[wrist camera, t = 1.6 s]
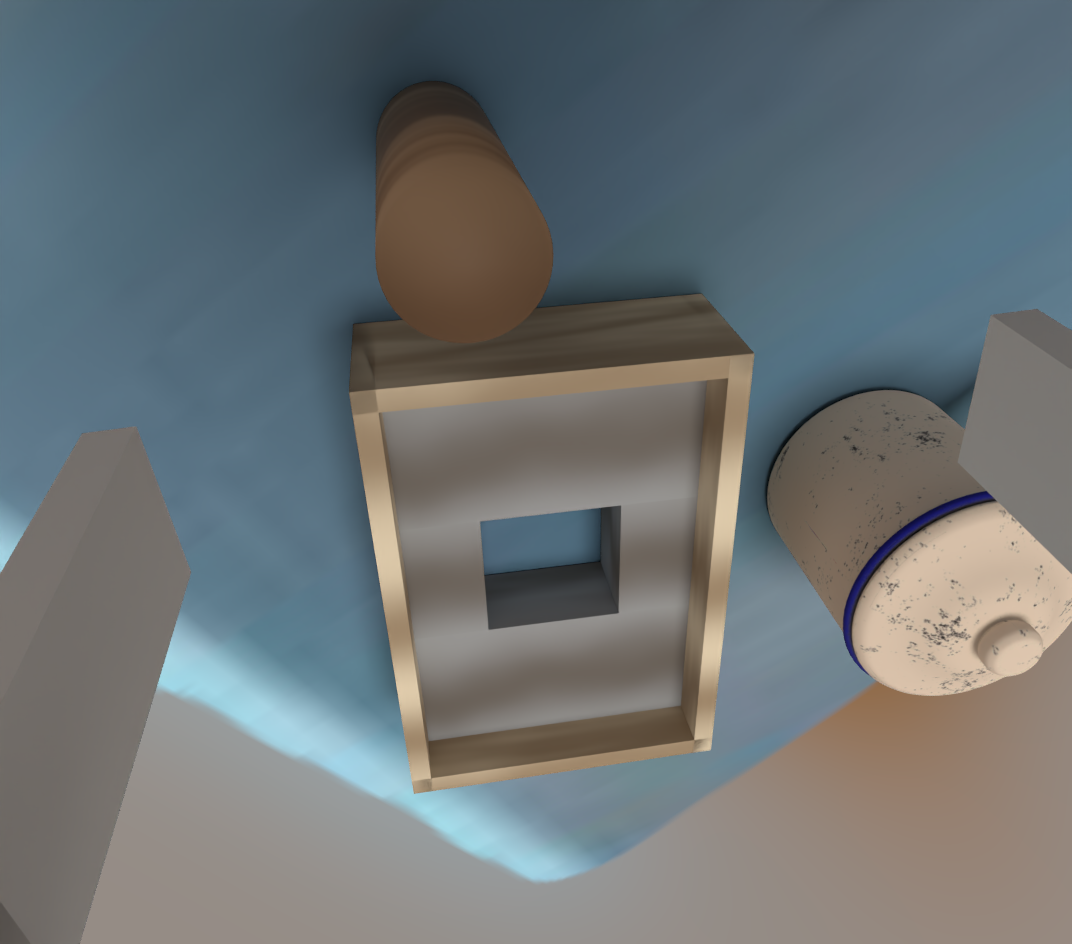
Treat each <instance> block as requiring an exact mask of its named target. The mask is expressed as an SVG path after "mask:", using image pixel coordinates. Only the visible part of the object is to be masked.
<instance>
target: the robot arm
mask: <svg viewBox="0 0 1072 944" xmlns="http://www.w3.org/2000/svg"><path fill="white" fill-rule="evenodd" d="M958 463H959V464H960V465H961V466H962V467H963V468H964V469H965V470H966V471H967V472H968V473H969V474H970V475H971V476H972V477H973V478H974V479H975V480H976V481H977V482H978V483H979V484H980V485H981V486H982V487H983V488H984V489H985V490H986V491H987V492H988V493H989V494H990V495H991V496H992V497H993V498H994V499H995V500H996V501H998V502H999V503H1000V504H1001V505H1002V506H1003V507H1004V508H1005V509H1006V510H1007V511H1008V512H1009V513H1010V514H1011V515H1012V516H1013V517H1014V518H1015V519H1016V520H1017V521H1018V522H1019V523H1020V524H1021V525H1022V526H1023V527H1024V528H1025V529H1026V530H1027V531H1028V532H1029V533H1030V534H1031V535H1032V536H1033V537H1034V538H1035V539H1036V540H1037V541H1038V542H1039V543H1040V544H1041V545H1042V546H1043V547H1044V548H1045V549H1047V550H1048V551H1049V552H1050V553H1051V554H1052V555H1053V556H1054V557H1055V558H1056V559H1057V560H1058V561H1059V562H1060V563H1061V564H1062V565H1063V566H1064V567H1065V568H1066V569H1067V570H1068V571H1069V572H1070V573H1071V574H1072V330H1070V329H1068V328H1067V327H1065V326H1063V325H1062V324H1060V323H1059V322H1057V321H1055V320H1054V319H1052V318H1051V317H1049V316H1047V315H1046V314H1044V313H1043V312H1041V311H1039V310H1038V309H1033V310H1025V311H1018V312H1010V313H1002V314H995V315H991V317H990V321H989V326H988V330H987V334H986V339H985V343H984V348H983V352H982V356H981V361H980V365H979V370H978V374H977V379H976V383H975V387H974V392H973V396H972V401H971V405H970V410H969V414H968V418H967V423H966V427H965V432H964V436H963V441H962V445H961V449H960V454H959V458H958ZM190 574H191V571H190V568H189V566H188V563H187V560H186V558H185V555H184V552H183V550H182V547H181V544H180V542H179V539H178V536H177V534H176V531H175V528H174V526H173V523H172V520H171V518H170V515H169V512H168V510H167V507H166V504H165V502H164V499H163V496H162V494H161V491H160V488H159V486H158V483H157V480H156V478H155V475H154V472H153V470H152V467H151V464H150V462H149V459H148V456H147V454H146V451H145V448H144V446H143V443H142V440H141V438H140V435H139V432H138V430H137V427H128V428H121V429H113V430H105V431H98V432H90V433H82V435H81V437H80V438H79V440H78V442H77V443H76V445H75V447H74V448H73V450H72V452H71V454H70V455H69V457H68V459H67V460H66V462H65V464H64V466H63V467H62V469H61V471H60V472H59V474H58V476H57V478H56V479H55V481H54V483H53V484H52V486H51V488H50V490H49V491H48V493H47V495H46V496H45V498H44V500H43V502H42V503H41V505H40V507H39V508H38V510H37V512H36V514H35V515H34V517H33V519H32V520H31V522H30V524H29V525H28V527H27V529H26V531H25V532H24V534H23V536H22V537H21V539H20V541H19V543H18V544H17V546H16V548H15V549H14V551H13V553H12V555H11V556H10V558H9V560H8V561H7V563H6V565H5V567H4V568H3V570H2V572H1V573H0V944H80V941H81V938H82V934H83V931H84V928H85V925H86V921H87V918H88V915H89V911H90V908H91V905H92V901H93V898H94V895H95V891H96V888H97V885H98V881H99V878H100V875H101V871H102V868H103V864H104V861H105V858H106V855H107V851H108V848H109V844H110V841H111V837H112V834H113V831H114V828H115V824H116V821H117V818H118V814H119V811H120V807H121V804H122V801H123V798H124V794H125V791H126V788H127V784H128V781H129V778H130V774H131V771H132V768H133V764H134V761H135V758H136V754H137V751H138V748H139V744H140V741H141V738H142V734H143V731H144V728H145V724H146V721H147V718H148V714H149V711H150V707H151V704H152V701H153V697H154V694H155V691H156V687H157V684H158V681H159V677H160V674H161V671H162V667H163V664H164V661H165V657H166V654H167V651H168V647H169V644H170V641H171V637H172V634H173V631H174V627H175V624H176V621H177V617H178V614H179V611H180V607H181V604H182V601H183V597H184V594H185V591H186V587H187V584H188V581H189V577H190Z"/></svg>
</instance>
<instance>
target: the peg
mask: <svg viewBox="0 0 1072 944" xmlns="http://www.w3.org/2000/svg"><path fill="white" fill-rule="evenodd" d="M375 257H376V270H377V275H378V280H379V282H380V285H381V288H382V291H383V293H384V295H385V297H386V299H387V301H388V302H389V304H390V305H391V306H392V308H393V309H394V311H395V312H396V313H397V314H398V315H399V316H400V317H401V318H402V319H403V320H404V321H405V322H406V323H407V324H409V325H410V326H411V327H413V328H414V329H416V330H417V331H419V332H421V333H423V334H425V335H427V336H429V337H432V338H435V339H438V340H441V341H446V342H452V343H475V342H482V341H486V340H490V339H493V338H496V337H498V336H500V335H503V334H505V333H507V332H508V331H510V330H512V329H514V328H515V327H516V326H518V325H519V324H520V323H522V322H523V321H524V320H525V319H526V318H527V317H528V316H529V315H530V314H531V313H532V312H533V310H534V309H535V308H536V307H537V305H538V304H539V302H540V300H541V299H542V297H543V295H544V293H545V291H546V289H547V287H548V283H549V280H550V277H551V272H552V266H553V246H552V239H551V235H550V231H549V228H548V226H547V223H546V220H545V218H544V217H543V215H542V213H541V211H540V209H539V207H538V206H537V204H536V202H535V200H534V199H533V197H532V195H531V193H530V192H529V190H528V188H527V186H526V185H525V183H524V181H523V179H522V178H521V176H520V174H519V172H518V171H517V169H516V167H515V165H514V164H513V162H512V160H511V158H510V157H509V155H508V153H507V151H506V150H505V148H504V146H503V144H502V143H501V141H500V139H499V137H498V136H497V134H496V132H495V130H494V129H493V127H492V125H491V123H490V122H489V120H488V118H487V116H486V115H485V113H484V111H483V109H482V108H481V107H480V105H479V104H478V103H477V102H476V100H475V99H474V98H473V97H472V96H470V95H469V94H468V93H467V92H465V91H464V90H462V89H461V88H459V87H456V86H454V85H452V84H448V83H445V82H439V81H427V82H420V83H417V84H413V85H411V86H409V87H407V88H405V89H403V90H402V91H400V92H399V93H398V94H397V95H395V96H394V97H393V98H392V99H391V101H390V102H389V103H388V104H387V106H386V107H385V109H384V111H383V113H382V115H381V117H380V120H379V123H378V127H377V134H376V250H375Z"/></svg>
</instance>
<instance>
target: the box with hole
mask: <svg viewBox="0 0 1072 944" xmlns="http://www.w3.org/2000/svg"><path fill="white" fill-rule="evenodd" d="M753 362H754V352H753V351H752V350H751V349H750V348H749V347H748V346H747V345H746V343H745V342H744V341H743V340H742V339H741V338H740V337H739V335H738V334H737V333H736V332H735V331H734V330H733V329H732V327H731V326H730V325H729V324H728V323H727V322H726V321H725V319H724V318H723V317H722V316H721V315H720V314H719V313H718V311H717V310H716V309H715V308H714V307H713V306H712V305H711V304H710V302H709V301H708V300H707V299H706V298H705V297H704V296H703V294H693V295H681V296H670V297H659V298H647V299H636V300H624V301H613V302H601V303H590V304H578V305H567V306H555V307H544V308H535V309H534V310H533V312H532V313H531V314H530V315H529V316H528V317H527V318H526V319H525V320H524V321H523V322H522V323H520V324H519V325H518V326H516V327H515V328H514V329H512V330H510V331H508V332H507V333H505V334H503V335H500V336H498V337H496V338H493V339H490V340H486V341H482V342H475V343H452V342H446V341H441V340H438V339H435V338H432V337H429V336H427V335H425V334H423V333H421V332H419V331H417V330H416V329H414V328H413V327H411V326H410V325H409V324H407V323H406V322H405V321H404V320H395V321H383V322H372V323H360V324H353V335H352V351H351V368H350V384H349V396H350V402H351V408H352V414H353V420H354V426H355V433H356V439H357V445H358V451H359V457H360V463H361V470H362V476H363V482H364V488H365V494H366V500H367V507H368V513H369V519H370V525H371V531H372V537H373V544H374V550H375V556H376V562H377V568H378V574H379V581H380V587H381V593H382V599H383V605H384V611H385V618H386V624H387V630H388V636H389V642H390V649H391V655H392V661H393V667H394V673H395V679H396V686H397V692H398V698H399V704H400V710H401V716H402V723H403V729H404V735H405V741H406V747H407V753H408V760H409V766H410V772H411V778H412V784H413V790H414V794H415V793H422V792H429V791H435V790H442V789H449V788H456V787H462V786H469V785H476V784H483V783H490V782H496V781H503V780H510V779H517V778H524V777H530V776H537V775H544V774H551V773H558V772H564V771H571V770H578V769H585V768H592V767H598V766H605V765H612V764H619V763H626V762H632V761H639V760H646V759H653V758H660V757H666V756H673V755H680V754H687V753H693V752H700V751H707V750H711V743H712V734H713V725H714V715H715V706H716V697H717V688H718V679H719V670H720V661H721V652H722V643H723V634H724V625H725V616H726V607H727V598H728V588H729V579H730V570H731V561H732V552H733V543H734V534H735V525H736V516H737V507H738V498H739V489H740V480H741V471H742V462H743V452H744V443H745V434H746V425H747V416H748V407H749V398H750V389H751V380H752V371H753ZM593 508H601V562H594V563H586V564H577V565H569V566H561V567H553V568H544V569H536V570H528V571H519V572H511V573H503V574H495V575H486V576H484V566H483V554H482V541H481V529H480V521H488V520H497V519H506V518H514V517H523V516H532V515H541V514H549V513H558V512H567V511H576V510H585V509H593Z"/></svg>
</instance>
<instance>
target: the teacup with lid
mask: <svg viewBox="0 0 1072 944" xmlns="http://www.w3.org/2000/svg"><path fill="white" fill-rule="evenodd" d="M964 432H965V429H963V428H962V427H961V426H960V425H959V424H958V423H956V422H955V421H954V420H953V419H952V418H951V417H950V416H948V415H947V414H946V413H945V412H944V411H943V410H941V409H940V408H939V407H938V406H937V405H935V404H934V403H932V402H931V401H929V400H927V399H925V398H923V397H921V396H919V395H916V394H913V393H909V392H904V391H896V390H879V391H871V392H866V393H861V394H857V395H854V396H851V397H848V398H846V399H843V400H841V401H839V402H837V403H835V404H833V405H831V406H829V407H827V408H826V409H824V410H822V411H821V412H819V413H818V414H816V415H815V416H814V417H812V418H811V419H810V420H809V421H807V422H806V423H805V424H804V425H803V426H802V427H801V428H800V429H799V430H798V431H797V432H796V433H795V434H794V435H793V436H792V437H791V439H790V440H789V441H788V443H787V444H786V445H785V447H784V448H783V450H782V451H781V453H780V455H779V456H778V458H777V460H776V462H775V464H774V467H773V470H772V472H771V476H770V479H769V484H768V494H767V502H768V510H769V515H770V518H771V521H772V523H773V525H774V527H775V529H776V531H777V532H778V534H779V535H780V537H781V538H782V540H783V541H784V543H785V544H786V546H787V547H788V549H789V551H790V552H791V554H792V555H793V557H794V558H795V560H796V561H797V563H798V564H799V566H800V567H801V569H802V570H803V572H804V573H805V575H806V576H807V578H808V579H809V581H810V582H811V584H812V585H813V587H814V589H815V590H816V592H817V593H818V595H819V596H820V598H821V599H822V601H823V602H824V604H825V605H826V607H827V608H828V610H829V611H830V613H831V614H832V616H833V617H834V619H835V620H836V622H837V623H838V625H839V627H840V628H841V630H842V631H843V634H844V640H845V643H846V647H847V649H848V651H849V653H850V655H851V657H852V658H853V660H854V661H855V663H856V664H857V665H858V666H859V667H860V668H861V669H862V670H863V671H864V672H865V673H867V674H868V675H870V676H871V677H873V678H874V679H875V680H877V681H878V682H880V683H881V684H883V685H886V686H888V687H890V688H892V689H895V690H898V691H901V692H905V693H909V694H915V695H928V696H934V695H935V696H936V695H948V694H955V693H960V692H965V691H968V690H972V689H976V688H979V687H982V686H985V685H987V684H990V683H992V682H995V681H997V680H999V679H1001V678H1003V677H1005V676H1014V675H1018V674H1021V673H1023V672H1025V671H1027V670H1028V669H1030V668H1031V667H1032V666H1034V665H1035V664H1036V663H1037V661H1038V660H1039V659H1040V657H1041V655H1042V652H1043V651H1044V650H1045V649H1046V648H1048V647H1049V646H1050V645H1051V644H1052V643H1053V642H1054V641H1055V640H1056V639H1057V638H1058V637H1059V636H1060V635H1061V633H1062V632H1063V631H1064V630H1065V629H1066V628H1067V626H1068V625H1069V624H1070V622H1071V621H1072V574H1071V573H1070V572H1069V571H1068V570H1067V569H1066V568H1065V567H1064V566H1063V565H1062V564H1061V563H1060V562H1059V561H1058V560H1057V559H1056V558H1055V557H1054V556H1053V555H1052V554H1051V553H1050V552H1049V551H1048V550H1047V549H1045V548H1044V547H1043V546H1042V545H1041V544H1040V543H1039V542H1038V541H1037V540H1036V539H1035V538H1034V537H1033V536H1032V535H1031V534H1030V533H1029V532H1028V531H1027V530H1026V529H1025V528H1024V527H1023V526H1022V525H1021V524H1020V523H1019V522H1018V521H1017V520H1016V519H1015V518H1014V517H1013V516H1012V515H1011V514H1010V513H1009V512H1008V511H1007V510H1006V509H1005V508H1004V507H1003V506H1002V505H1001V504H1000V503H999V502H998V501H996V500H995V499H994V498H993V497H992V496H991V495H990V494H989V493H988V492H987V491H986V490H985V489H984V488H983V487H982V486H981V485H980V484H979V483H978V482H977V481H976V480H975V479H974V478H973V477H972V476H971V475H970V474H969V473H968V472H967V471H966V470H965V469H964V468H963V467H962V466H961V465H960V464H959V463H958V458H959V454H960V449H961V445H962V441H963V436H964Z"/></svg>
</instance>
